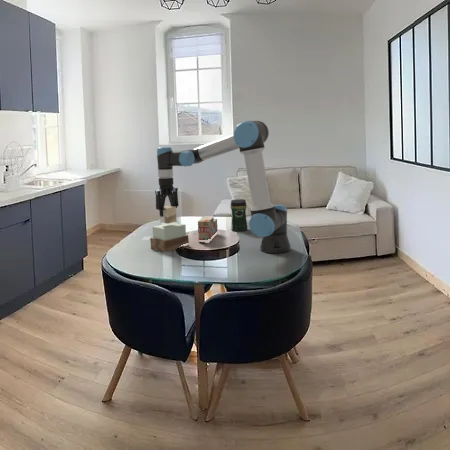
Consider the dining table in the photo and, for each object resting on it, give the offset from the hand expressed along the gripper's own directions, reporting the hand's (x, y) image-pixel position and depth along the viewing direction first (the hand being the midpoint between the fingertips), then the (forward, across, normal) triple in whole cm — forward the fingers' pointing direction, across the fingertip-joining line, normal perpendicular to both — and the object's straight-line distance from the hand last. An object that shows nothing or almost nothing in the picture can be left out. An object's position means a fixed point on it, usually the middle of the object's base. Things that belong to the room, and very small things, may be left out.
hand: (168, 221), depth 262 cm
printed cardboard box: (+14, -26, +3) cm, 30 cm away
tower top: (+8, 0, 0) cm, 8 cm away
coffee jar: (+14, -52, +3) cm, 54 cm away
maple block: (0, 0, 0) cm, 0 cm away
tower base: (+14, 0, 0) cm, 14 cm away
